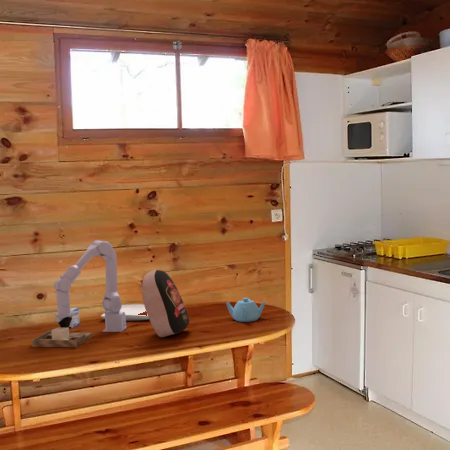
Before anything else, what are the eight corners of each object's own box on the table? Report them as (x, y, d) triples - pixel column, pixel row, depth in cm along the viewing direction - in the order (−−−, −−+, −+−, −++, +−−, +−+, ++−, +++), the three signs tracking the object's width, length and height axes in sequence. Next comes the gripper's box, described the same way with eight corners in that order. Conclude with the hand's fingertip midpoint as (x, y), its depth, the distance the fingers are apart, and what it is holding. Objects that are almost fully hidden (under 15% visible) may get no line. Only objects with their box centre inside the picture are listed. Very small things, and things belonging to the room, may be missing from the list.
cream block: (69, 337, 265) (68, 327, 265) (62, 340, 260) (62, 330, 260) (58, 336, 267) (58, 327, 267) (52, 340, 262) (51, 330, 261)
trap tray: (92, 336, 272) (92, 329, 272) (76, 347, 254) (75, 340, 254) (51, 336, 276) (50, 329, 275) (32, 346, 258) (31, 340, 258)
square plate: (150, 322, 295) (150, 315, 295) (100, 322, 300) (99, 315, 300) (165, 310, 322) (165, 303, 322) (118, 310, 327) (118, 304, 327)
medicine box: (72, 328, 290) (71, 310, 289) (64, 328, 291) (63, 310, 290) (79, 324, 297) (78, 307, 297) (71, 324, 298) (70, 307, 298)
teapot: (268, 319, 289) (267, 297, 289) (244, 324, 281) (243, 302, 280) (249, 314, 302) (248, 293, 301) (225, 319, 293) (224, 298, 292)
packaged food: (181, 341, 256) (177, 273, 254) (138, 340, 260) (134, 274, 258) (192, 328, 278) (189, 266, 275) (153, 328, 281) (150, 267, 279)
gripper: (62, 301, 274) (64, 329, 275) (47, 308, 260) (50, 337, 261) (76, 301, 273) (78, 329, 274) (62, 308, 259) (64, 337, 260)
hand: (65, 333), depth 268 cm, fingers closed
